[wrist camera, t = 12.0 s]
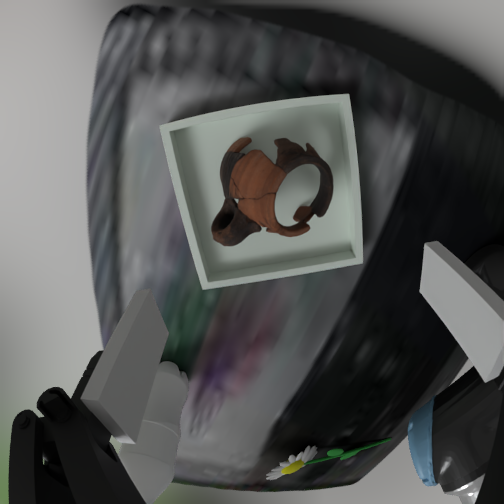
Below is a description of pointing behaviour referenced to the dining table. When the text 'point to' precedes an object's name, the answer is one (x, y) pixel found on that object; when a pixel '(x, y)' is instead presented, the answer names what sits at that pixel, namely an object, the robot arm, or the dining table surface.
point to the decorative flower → (305, 458)
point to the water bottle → (157, 434)
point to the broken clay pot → (265, 191)
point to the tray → (287, 197)
